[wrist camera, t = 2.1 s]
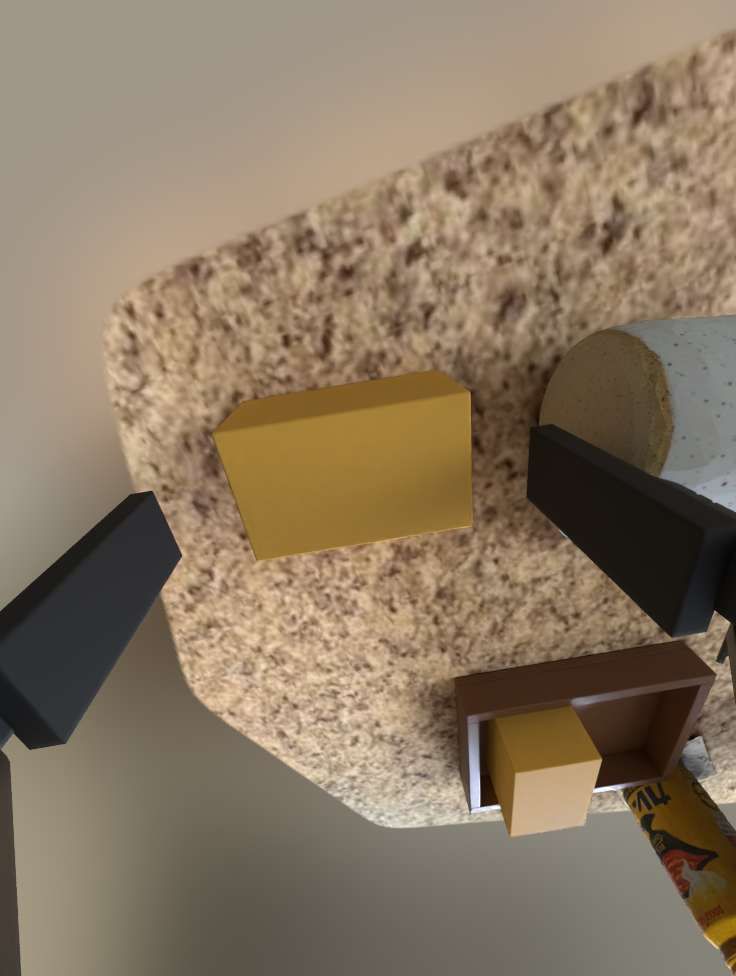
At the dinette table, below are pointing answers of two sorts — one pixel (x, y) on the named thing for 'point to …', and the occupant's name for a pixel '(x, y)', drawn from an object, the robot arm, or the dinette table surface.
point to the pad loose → (350, 463)
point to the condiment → (693, 844)
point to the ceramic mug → (656, 399)
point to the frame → (592, 711)
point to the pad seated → (542, 770)
